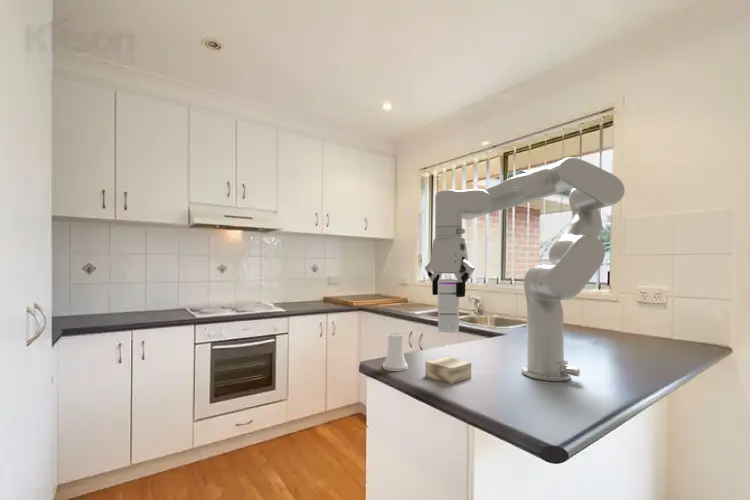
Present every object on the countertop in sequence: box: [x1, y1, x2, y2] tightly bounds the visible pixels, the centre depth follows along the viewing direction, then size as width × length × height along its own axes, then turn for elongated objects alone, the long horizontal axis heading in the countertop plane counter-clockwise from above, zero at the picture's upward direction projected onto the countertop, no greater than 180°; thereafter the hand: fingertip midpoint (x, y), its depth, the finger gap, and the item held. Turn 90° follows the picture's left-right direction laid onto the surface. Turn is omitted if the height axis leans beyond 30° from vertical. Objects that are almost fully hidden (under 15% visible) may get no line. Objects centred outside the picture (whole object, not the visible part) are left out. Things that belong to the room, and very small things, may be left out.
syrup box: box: [437, 278, 460, 334], centre depth 102 cm, size 6×6×14 cm
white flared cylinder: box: [382, 332, 409, 372], centre depth 110 cm, size 8×8×10 cm
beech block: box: [424, 356, 472, 385], centre depth 102 cm, size 9×9×4 cm
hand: (448, 295), depth 103 cm, fingers closed on syrup box, 7 cm apart
